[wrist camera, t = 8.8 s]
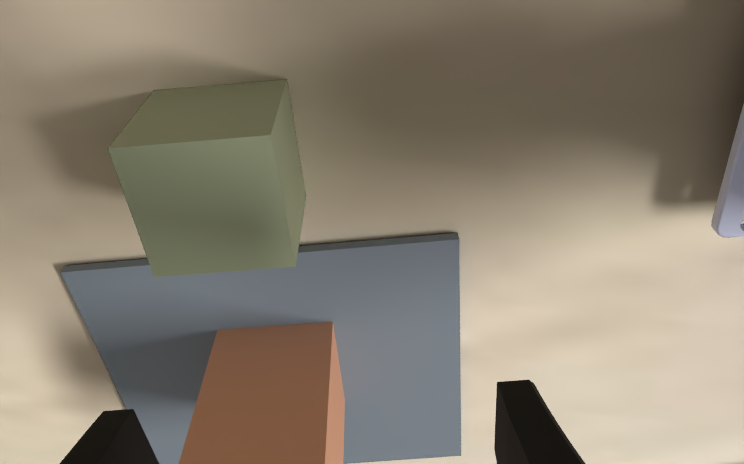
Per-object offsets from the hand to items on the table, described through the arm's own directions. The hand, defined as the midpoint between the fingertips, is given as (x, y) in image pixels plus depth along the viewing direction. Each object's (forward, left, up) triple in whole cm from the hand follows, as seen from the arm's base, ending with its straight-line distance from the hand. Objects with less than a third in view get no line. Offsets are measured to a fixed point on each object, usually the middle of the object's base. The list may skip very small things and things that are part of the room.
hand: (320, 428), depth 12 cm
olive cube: (+3, -2, -10) cm, 10 cm away
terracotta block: (+3, +8, -9) cm, 12 cm away
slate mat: (+3, +8, -9) cm, 13 cm away
